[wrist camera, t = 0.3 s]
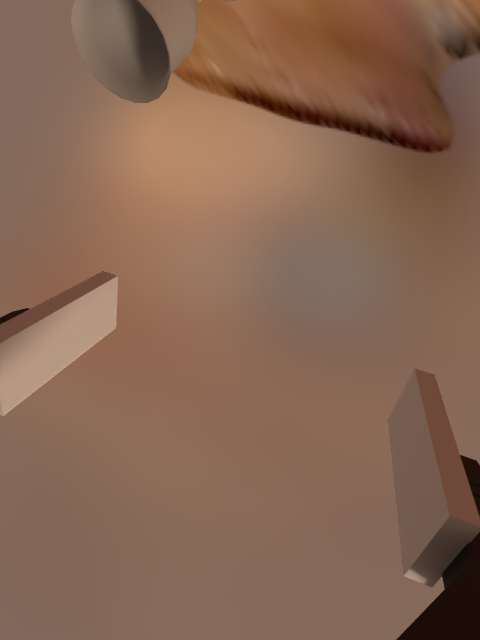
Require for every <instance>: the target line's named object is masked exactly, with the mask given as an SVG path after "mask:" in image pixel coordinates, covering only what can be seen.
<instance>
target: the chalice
mask: <svg viewBox="0 0 480 640" xmlns="http://www.w3.org/2000/svg"><path fill="white" fill-rule="evenodd" d="M225 1H234V0H225ZM199 2H201V0H75V1H74V4H73V6H72V18H71V26H72V30H73V35H74V39H75V43H76V46H77V48H78V50H79V52H80V54H81V56H82V59H83V61H84V62H85V64H86V65H87V67H88V68H89V69H90V71H91V72H92V74H93V75H94V76H95V78H96V79H97V80H98V81H99V82H101V83H102V84H103V85H104V86H105V87H106V88H107V89H108V90H109V91H111V92H112V93H114V94H116V95H117V96H119V97H120V98H122V99H125V100H128V101H131V102H135V103H148V102H150V101H153V100H155V99H157V98H159V97H160V95H161V94H162V93H163V92H164V90H166V88H167V85H168V81H169V78H170V75H171V73H172V72H174V71H175V70H176V69H177V68H178V67H179V66H180V65H181V64H182V63H183V62H184V60H185V59H186V58H187V57H188V56H189V54H190V53H191V50H192V47H193V44H194V41H195V36H196V32H197V28H198V10H197V3H199Z"/></svg>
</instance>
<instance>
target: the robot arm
mask: <svg viewBox="0 0 480 640" xmlns="http://www.w3.org/2000/svg"><path fill="white" fill-rule="evenodd" d="M117 287H118V276H117V275H114V274H110V273H107V272H104V271H102V272H100V273H98V274H96V275H95V276H93V277H91V278H89V279H87V280H85V281H83V282H81V283H79V284H77V285H75V286H73V287H72V288H70V289H68V290H66V291H64V292H62V293H60V294H58V295H56V296H54V297H52V298H50V299H49V300H47V301H45V302H43V303H41V304H39V305H37V306H35V307H33V308H31V309H28V308H26V309H22V310H18V311H14V312H11V313H9V314H7V315H5V316H3V317H1V318H0V415H2V416H4V415H5V414H6V413H8V412H9V411H10V410H12V409H13V408H14V407H15V406H17V405H18V404H19V403H21V402H22V401H23V400H24V399H25V398H27V397H28V396H29V395H31V394H32V393H33V392H34V391H36V390H37V389H38V388H40V387H41V386H42V385H43V384H45V383H46V382H47V381H49V380H50V379H51V378H53V377H54V376H55V375H56V374H58V373H59V372H60V371H61V370H63V369H64V368H65V367H66V366H68V365H69V364H70V363H72V362H73V361H74V360H76V359H77V358H78V357H79V356H81V355H82V354H83V353H84V352H86V351H87V350H88V349H90V348H91V347H92V346H93V345H95V344H96V343H97V342H99V341H100V340H101V339H102V338H104V337H105V336H106V335H107V334H109V333H110V332H111V331H113V330H114V329H115V328H116V316H117ZM388 424H389V435H390V445H391V454H392V464H393V474H394V484H395V494H396V504H397V513H398V524H399V533H400V543H401V552H402V563H403V573H404V576H405V577H407V578H410V579H413V580H415V581H417V582H420V583H422V584H425V585H427V586H430V587H433V586H434V585H435V584H436V582H437V581H438V580H439V579H440V578H441V577H443V582H444V588H445V590H444V591H443V592H442V593H441V594H440V595H439V596H438V597H437V598H436V599H435V600H434V601H433V602H432V603H431V604H430V605H429V606H428V608H426V610H425V611H424V612H423V613H422V614H421V615H420V616H419V617H418V618H417V619H416V620H415V621H414V622H413V623H412V624H411V625H410V626H409V627H408V628H407V629H406V630H405V631H404V633H402V634H401V636H400V637H399V638H398V639H397V640H480V465H479V464H478V462H477V461H476V460H473V459H471V458H468V457H464V456H462V455H460V454H459V451H458V448H457V445H456V441H455V438H454V435H453V432H452V429H451V426H450V422H449V419H448V416H447V413H446V410H445V407H444V403H443V400H442V397H441V394H440V391H439V388H438V384H437V381H436V378H435V375H434V374H431V373H428V372H425V371H421V370H418V369H414V370H413V372H412V374H411V376H410V378H409V380H408V382H407V384H406V386H405V388H404V389H403V392H402V393H401V395H400V397H399V399H398V401H397V403H396V405H395V407H394V409H393V411H392V413H391V414H390V416H389V418H388Z"/></svg>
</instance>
